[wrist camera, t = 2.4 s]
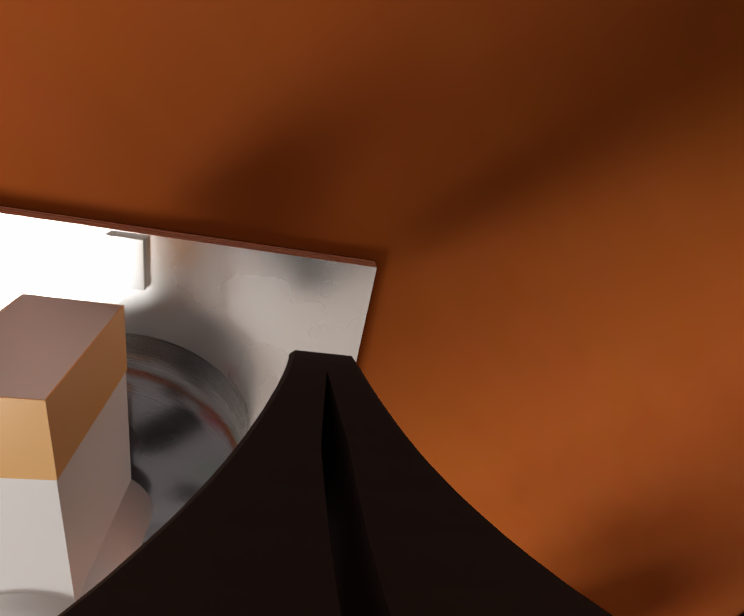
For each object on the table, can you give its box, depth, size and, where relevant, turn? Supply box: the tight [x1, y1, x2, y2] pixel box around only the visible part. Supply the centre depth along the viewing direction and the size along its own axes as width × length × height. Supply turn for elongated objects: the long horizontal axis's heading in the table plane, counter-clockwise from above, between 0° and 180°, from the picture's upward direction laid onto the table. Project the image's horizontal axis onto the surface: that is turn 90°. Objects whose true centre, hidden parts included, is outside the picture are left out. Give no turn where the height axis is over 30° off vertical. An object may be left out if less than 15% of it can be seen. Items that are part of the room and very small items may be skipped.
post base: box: [0, 206, 377, 544], centre depth 13 cm, size 13×13×3 cm
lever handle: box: [0, 293, 153, 616], centre depth 9 cm, size 7×3×3 cm, turn 169°
